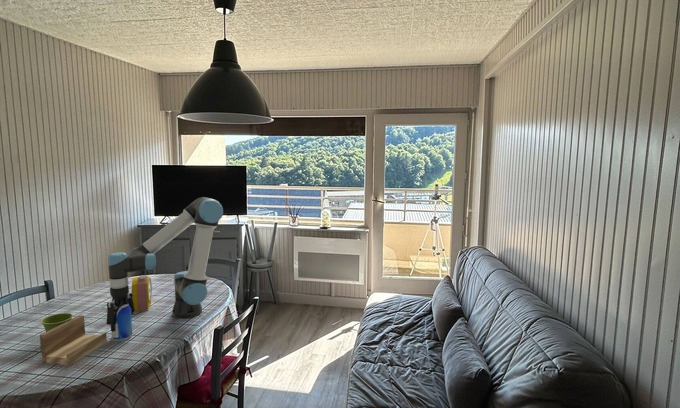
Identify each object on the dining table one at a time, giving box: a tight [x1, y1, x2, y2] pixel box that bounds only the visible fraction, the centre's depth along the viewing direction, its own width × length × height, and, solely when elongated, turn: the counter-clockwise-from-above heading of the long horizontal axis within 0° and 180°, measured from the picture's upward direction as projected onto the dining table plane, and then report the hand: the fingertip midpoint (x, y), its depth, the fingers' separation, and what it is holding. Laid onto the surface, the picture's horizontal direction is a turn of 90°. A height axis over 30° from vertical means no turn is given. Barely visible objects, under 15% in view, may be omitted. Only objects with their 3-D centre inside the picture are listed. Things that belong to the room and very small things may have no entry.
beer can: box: [111, 304, 133, 342], centre depth 178 cm, size 8×8×16 cm
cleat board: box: [39, 314, 108, 366], centre depth 165 cm, size 13×20×12 cm, turn 171°
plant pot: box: [40, 312, 74, 332], centre depth 174 cm, size 12×12×11 cm
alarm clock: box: [131, 274, 153, 313], centre depth 214 cm, size 15×8×18 cm, turn 20°
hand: (122, 332), depth 178 cm, fingers closed on beer can, 8 cm apart
